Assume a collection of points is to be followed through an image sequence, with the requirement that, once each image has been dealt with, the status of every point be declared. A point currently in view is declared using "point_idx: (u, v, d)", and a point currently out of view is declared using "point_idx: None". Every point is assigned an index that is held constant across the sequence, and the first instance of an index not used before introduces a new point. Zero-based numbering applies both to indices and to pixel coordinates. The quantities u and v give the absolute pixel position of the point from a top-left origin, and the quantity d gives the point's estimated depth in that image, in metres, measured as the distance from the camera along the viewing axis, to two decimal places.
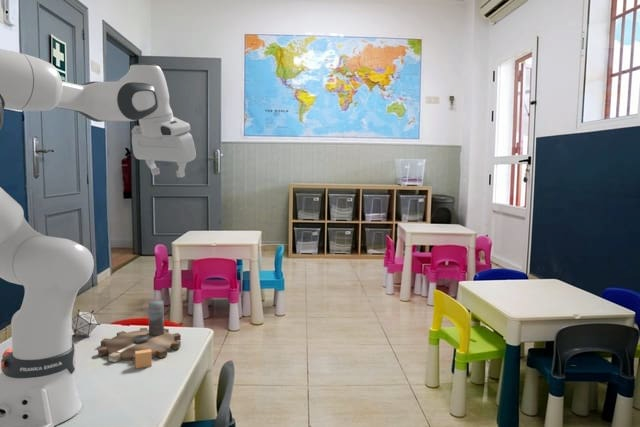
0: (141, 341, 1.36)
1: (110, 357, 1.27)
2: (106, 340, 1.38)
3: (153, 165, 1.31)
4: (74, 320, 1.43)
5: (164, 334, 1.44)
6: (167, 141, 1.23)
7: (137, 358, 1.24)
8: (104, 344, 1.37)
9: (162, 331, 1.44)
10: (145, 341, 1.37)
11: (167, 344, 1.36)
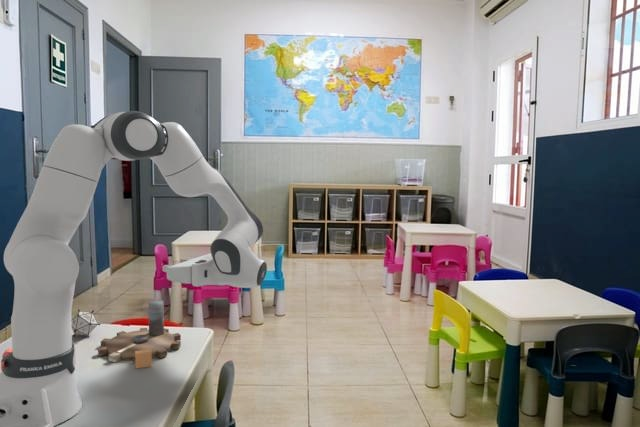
0: (141, 341, 1.36)
1: (110, 357, 1.27)
2: (106, 340, 1.38)
3: None
4: (74, 320, 1.43)
5: (164, 334, 1.44)
6: None
7: (137, 358, 1.24)
8: (104, 344, 1.37)
9: (162, 331, 1.44)
10: (145, 341, 1.37)
11: (167, 344, 1.36)
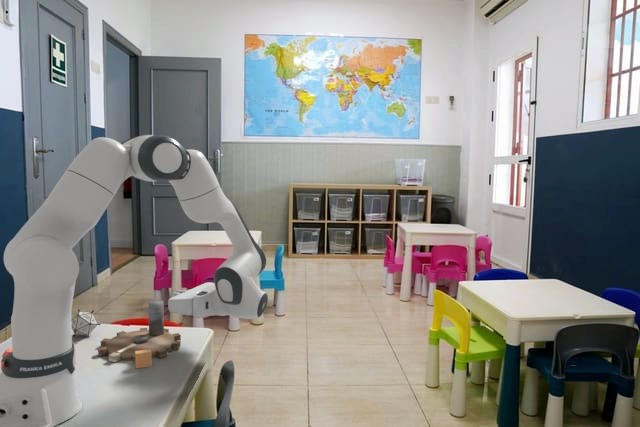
0: (141, 341, 1.36)
1: (110, 357, 1.27)
2: (106, 340, 1.38)
3: None
4: (74, 320, 1.43)
5: (164, 334, 1.44)
6: None
7: (137, 358, 1.24)
8: (104, 344, 1.37)
9: (162, 331, 1.44)
10: (145, 341, 1.37)
11: (167, 344, 1.36)
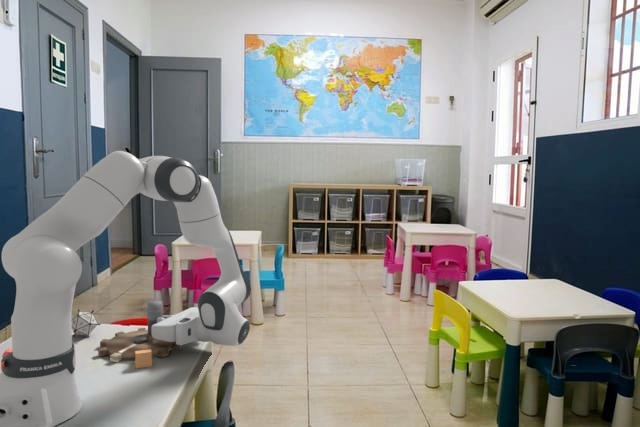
0: (141, 341, 1.36)
1: (112, 357, 1.27)
2: (105, 341, 1.37)
3: None
4: (74, 320, 1.43)
5: None
6: None
7: (137, 358, 1.24)
8: (103, 345, 1.37)
9: None
10: (145, 341, 1.37)
11: (168, 343, 1.36)
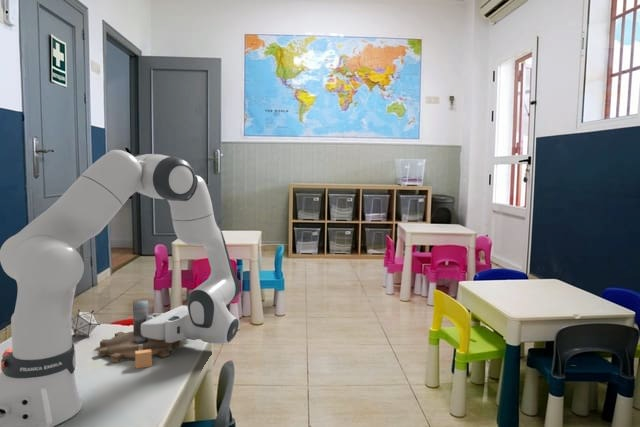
0: (145, 340, 1.37)
1: None
2: (104, 349, 1.31)
3: None
4: (74, 320, 1.43)
5: None
6: None
7: (137, 358, 1.24)
8: (104, 353, 1.31)
9: None
10: (147, 339, 1.38)
11: None
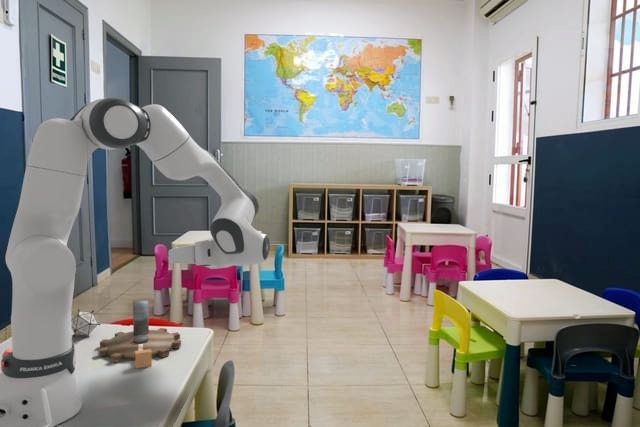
0: (145, 340, 1.37)
1: None
2: (104, 349, 1.31)
3: None
4: (74, 320, 1.43)
5: (150, 331, 1.46)
6: None
7: (137, 358, 1.24)
8: (104, 353, 1.31)
9: None
10: (147, 339, 1.38)
11: (171, 337, 1.42)
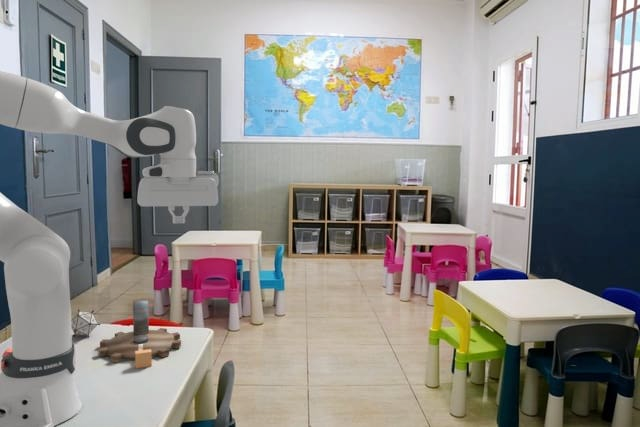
0: (145, 340, 1.37)
1: None
2: (104, 349, 1.31)
3: (183, 213, 1.22)
4: (74, 320, 1.43)
5: (150, 331, 1.46)
6: None
7: (137, 358, 1.24)
8: (104, 353, 1.31)
9: None
10: (147, 339, 1.38)
11: (171, 337, 1.42)
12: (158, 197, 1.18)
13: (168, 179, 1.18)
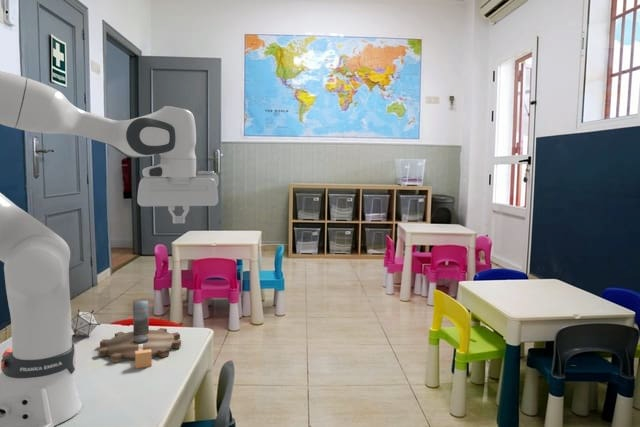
0: (145, 340, 1.37)
1: None
2: (104, 349, 1.31)
3: (183, 213, 1.22)
4: (74, 320, 1.43)
5: (150, 331, 1.46)
6: None
7: (137, 358, 1.24)
8: (104, 353, 1.31)
9: None
10: (147, 339, 1.38)
11: (171, 337, 1.42)
12: (157, 196, 1.18)
13: (168, 179, 1.18)
